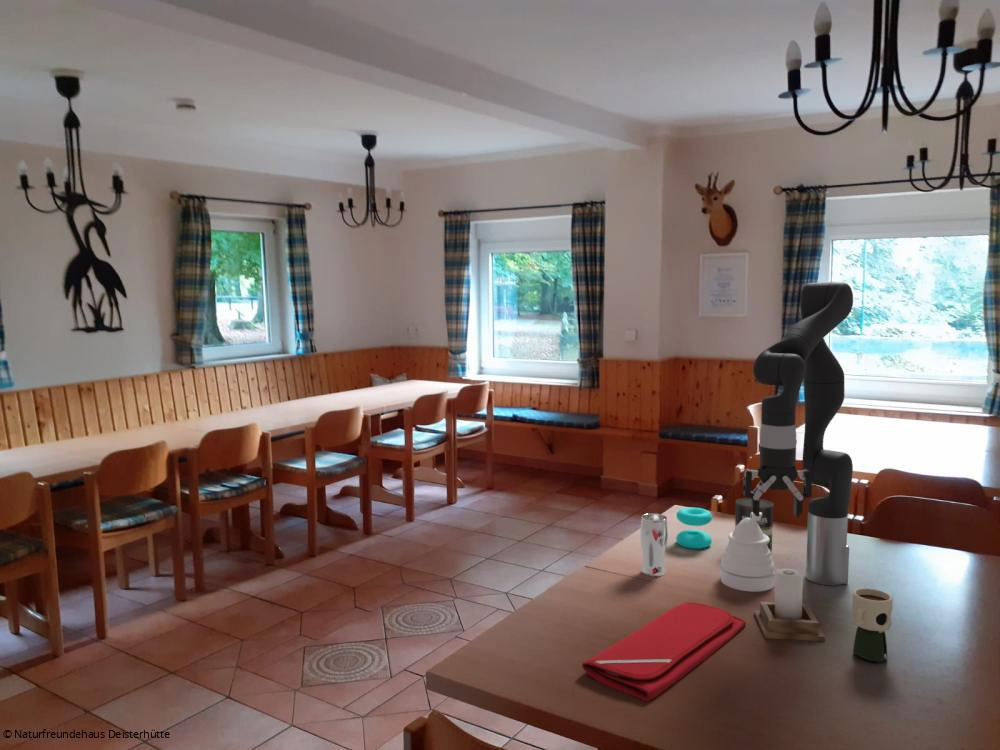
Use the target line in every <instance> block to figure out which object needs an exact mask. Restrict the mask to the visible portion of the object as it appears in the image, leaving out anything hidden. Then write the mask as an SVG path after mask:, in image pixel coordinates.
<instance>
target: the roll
mask: <svg viewBox="0 0 1000 750" xmlns="http://www.w3.org/2000/svg"><path fill="white" fill-rule="evenodd" d="M803 579H804V575H803V572H802V571H800V570H797V569H794V568H777V569H776V570H774V602H775V619H795V620H802V604H803V583H804V582H803V581H804V580H803Z"/></svg>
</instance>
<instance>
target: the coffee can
mask: <svg viewBox="0 0 1000 750" xmlns="http://www.w3.org/2000/svg"><path fill="white" fill-rule="evenodd" d="M759 501H760V509H759V512H761V513H762V517H761V519H760V520H758V521H756V523H757V524H758V525H759V527H760V529H761V531H762V533H763V534H765V535H767V536H768V537H769V539H770V541H769V543H767V546H768V549H769V550H770V552H771V553H770V555H771V556H772V553H773V530H774V529H773V524H774V523H773V522H774V507H775V504H774V502H772V501H771V500H767V499H763V498H759ZM751 512H752V510H751V498H749V497H741V498H738V499H736V500H735V520H734V522H735V523H734V529H735V528H736V527H737V525H738V524H739V523H740V521H742V520H743V519H745V518H753V517H752V514H751Z"/></svg>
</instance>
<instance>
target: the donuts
mask: <svg viewBox="0 0 1000 750" xmlns="http://www.w3.org/2000/svg"><path fill="white" fill-rule="evenodd" d="M712 518H713V516H712V513H711V512H710V511H709V510H707V509H705V508H701V507H692V506H691V507H690V506H689V507H683V508H680V509H678V511H677V512H676V519H677V520H678V521H679V522H680V523H681V524H684V525H686V526H690V527H691V526H693V527H700V526H701V527H702V526H705V525H708V524H709V523H711V522H712ZM675 540H676V542H677V544H678V545H679V546H681V547H684V548H687V549H691V550H692V549H693V550H694V549H695V550H696V549H698V550H701V549H705V548H708V547H710V546H711V545H712V537H711V536H710V534H708V533H707V532H705V531H703V530H699V529H685V530H682V531H680V532H678V533H677V534H676V537H675Z"/></svg>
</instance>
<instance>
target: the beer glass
mask: <svg viewBox="0 0 1000 750" xmlns="http://www.w3.org/2000/svg"><path fill="white" fill-rule="evenodd" d="M668 532H669V530H668V517H667V515H665V514H660V513H645V514H642V515H641V520H640V542H641V543H640V544H641V549H642V554H643V557H642V558H643V561H642V562H643V563H642V568H641V573H642V574H643V573H644V575H645V574H646V576H648V575H649V576H648V577H655V576H657V577H662V575H663V576H664V575H666V568H665V553H666V549H667V544H668V536H669V535H668V534H669V533H668Z"/></svg>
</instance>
